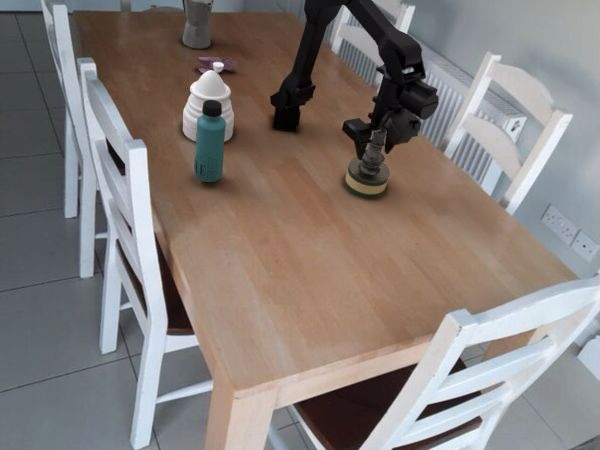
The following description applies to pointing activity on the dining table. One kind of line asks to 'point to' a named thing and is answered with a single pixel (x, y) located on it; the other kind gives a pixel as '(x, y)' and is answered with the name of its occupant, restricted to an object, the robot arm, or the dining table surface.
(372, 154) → the grey stone figurine
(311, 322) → the dining table surface
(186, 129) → the honey pot
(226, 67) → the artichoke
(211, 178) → the beverage bottle
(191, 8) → the coffeepot
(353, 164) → the tin
